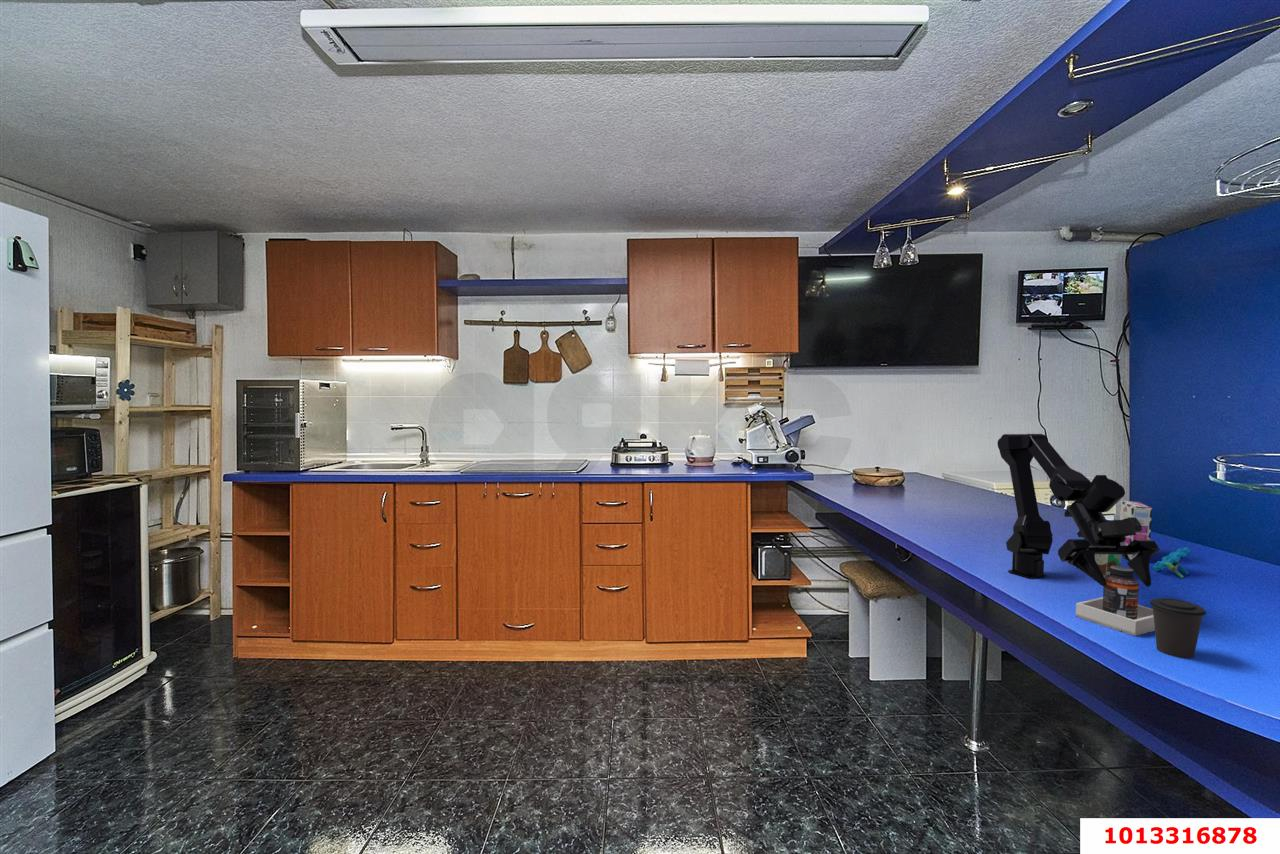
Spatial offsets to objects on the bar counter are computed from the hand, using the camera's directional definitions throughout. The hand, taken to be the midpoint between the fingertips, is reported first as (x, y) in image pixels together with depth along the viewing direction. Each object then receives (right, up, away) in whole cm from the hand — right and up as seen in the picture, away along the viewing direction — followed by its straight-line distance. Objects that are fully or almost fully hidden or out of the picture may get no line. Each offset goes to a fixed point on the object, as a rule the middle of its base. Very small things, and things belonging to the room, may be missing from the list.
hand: (1127, 585), depth 125 cm
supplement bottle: (0, -8, +2) cm, 8 cm away
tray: (0, -8, +2) cm, 9 cm away
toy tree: (+42, -6, +35) cm, 55 cm away
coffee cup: (-1, -10, -13) cm, 16 cm away
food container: (+25, -6, +36) cm, 44 cm away
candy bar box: (+44, -5, +50) cm, 67 cm away
